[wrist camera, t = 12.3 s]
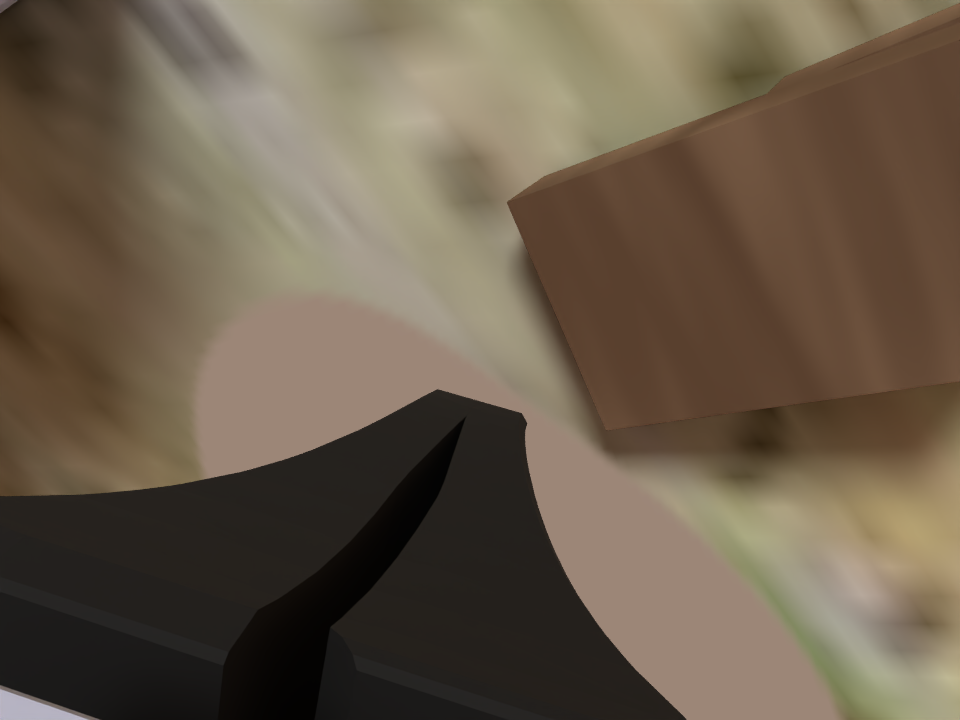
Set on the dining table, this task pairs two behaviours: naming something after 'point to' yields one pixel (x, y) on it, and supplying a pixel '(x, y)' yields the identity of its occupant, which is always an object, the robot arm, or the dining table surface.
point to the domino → (766, 246)
